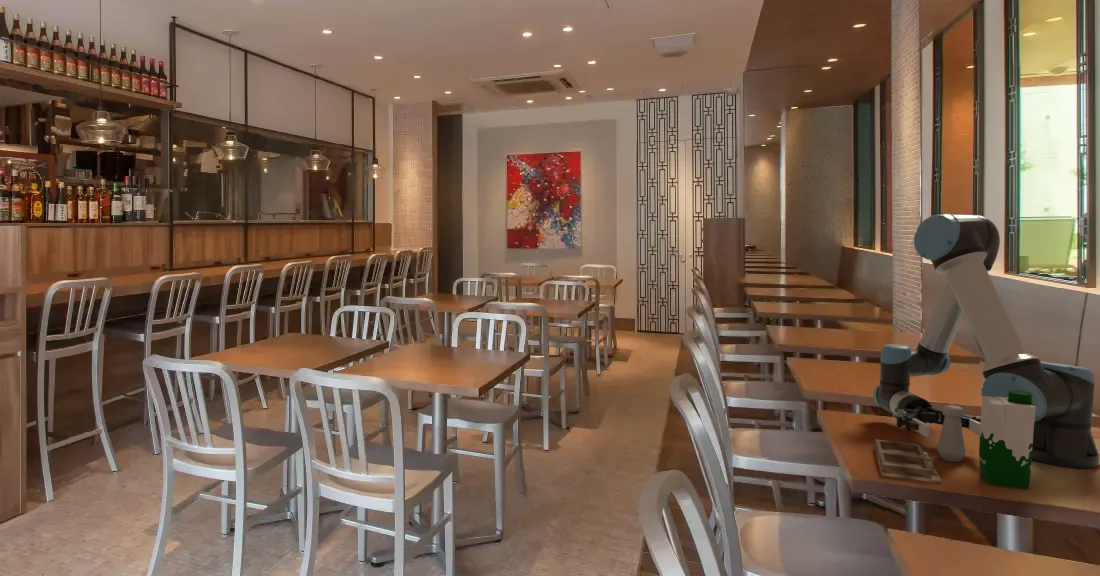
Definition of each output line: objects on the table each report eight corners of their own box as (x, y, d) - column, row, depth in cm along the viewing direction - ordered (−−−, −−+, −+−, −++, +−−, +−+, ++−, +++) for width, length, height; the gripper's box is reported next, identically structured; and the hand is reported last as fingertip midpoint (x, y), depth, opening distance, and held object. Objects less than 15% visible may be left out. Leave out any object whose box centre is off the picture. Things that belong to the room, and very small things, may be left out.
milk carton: (1035, 492, 128) (1041, 398, 127) (984, 485, 131) (988, 394, 130) (1021, 477, 136) (1026, 389, 135) (973, 471, 140) (978, 385, 138)
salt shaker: (969, 464, 144) (972, 410, 143) (942, 462, 145) (945, 408, 144) (958, 455, 150) (960, 403, 149) (932, 454, 151) (934, 402, 150)
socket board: (926, 454, 151) (926, 444, 151) (941, 483, 133) (941, 472, 132) (874, 448, 156) (874, 438, 156) (881, 475, 137) (882, 464, 137)
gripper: (958, 422, 165) (1012, 448, 144) (863, 420, 167) (902, 446, 146) (959, 395, 165) (1013, 417, 144) (864, 393, 166) (903, 415, 145)
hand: (957, 432), depth 145 cm, fingers open, 13 cm apart
